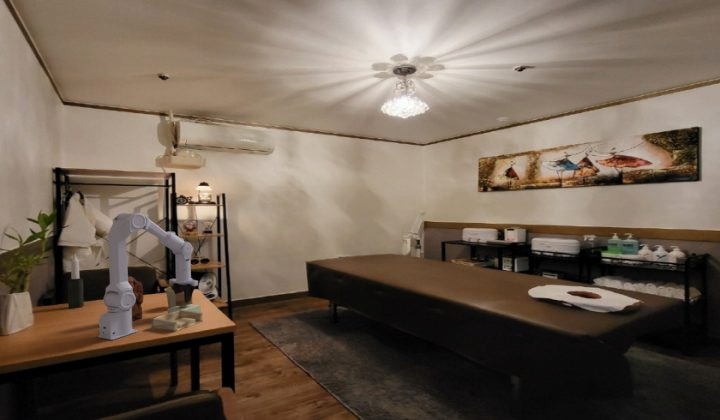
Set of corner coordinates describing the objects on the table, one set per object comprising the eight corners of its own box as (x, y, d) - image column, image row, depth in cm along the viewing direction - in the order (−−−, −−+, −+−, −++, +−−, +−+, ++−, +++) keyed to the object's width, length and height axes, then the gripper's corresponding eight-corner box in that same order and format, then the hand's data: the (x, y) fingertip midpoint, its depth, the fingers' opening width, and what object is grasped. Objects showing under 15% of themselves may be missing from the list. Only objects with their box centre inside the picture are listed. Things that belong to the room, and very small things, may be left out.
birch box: (174, 331, 134) (174, 322, 134) (151, 328, 139) (151, 319, 139) (202, 321, 146) (202, 312, 146) (180, 318, 151) (180, 309, 151)
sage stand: (183, 318, 151) (183, 310, 151) (167, 316, 155) (167, 309, 154) (200, 312, 159) (200, 305, 159) (185, 310, 163) (185, 303, 163)
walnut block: (182, 306, 154) (182, 294, 154) (175, 305, 155) (175, 294, 155) (192, 303, 158) (192, 292, 158) (185, 302, 160) (185, 291, 160)
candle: (71, 306, 174) (69, 253, 173) (84, 305, 176) (82, 252, 176) (67, 309, 169) (66, 254, 169) (81, 307, 171) (80, 254, 171)
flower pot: (191, 304, 173) (191, 286, 173) (180, 309, 164) (179, 290, 164) (172, 304, 174) (172, 285, 174) (160, 309, 165) (159, 290, 165)
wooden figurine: (112, 325, 143) (111, 279, 143) (107, 322, 147) (106, 277, 147) (145, 318, 152) (144, 274, 152) (139, 315, 156) (138, 273, 156)
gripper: (203, 268, 158) (204, 300, 158) (178, 267, 163) (179, 297, 163) (189, 271, 151) (190, 304, 151) (164, 270, 157) (165, 301, 157)
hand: (184, 301), depth 157 cm, fingers closed on walnut block, 4 cm apart
